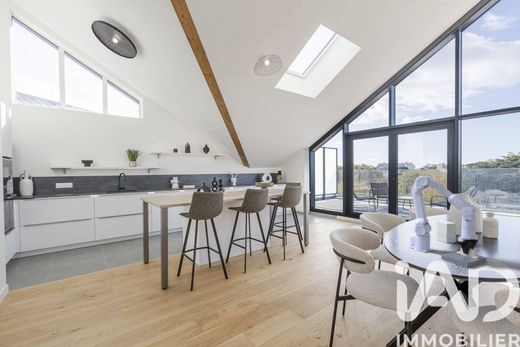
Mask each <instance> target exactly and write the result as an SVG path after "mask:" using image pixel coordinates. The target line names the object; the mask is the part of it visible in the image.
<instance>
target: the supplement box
mask: <svg viewBox="0 0 520 347" xmlns="http://www.w3.org/2000/svg"><path fill="white" fill-rule="evenodd" d="M456 238H457V223H456V222H451V221H447V220H440V221H436V240H437V241H438V242H442V243H445V244H455V242H456V243H457V239H456Z"/></svg>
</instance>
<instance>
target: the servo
mask: <svg viewBox="0 0 520 347" xmlns="http://www.w3.org/2000/svg"><path fill="white" fill-rule="evenodd" d="M460 250H461V251H460ZM460 250H458V251H459V252H456V251H455V252H456V253H459V254H461V255H463V256H467V257H470V258H476V259H477V258H480V257H479V256H480V255H479V256H475V255H476V249H474V250H472V249H469V254H464V253H463V250H462V247H460Z"/></svg>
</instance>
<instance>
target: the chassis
mask: <svg viewBox="0 0 520 347" xmlns="http://www.w3.org/2000/svg"><path fill="white" fill-rule="evenodd" d="M459 251H461V249H460V250H457V251H451V252H448V253H444V254H441V260H442V259H443V260H442V261H446V262H449V263H450V264H451V263H452V264H455V265H458V266H460V267H464V268H467V269H468V268H471V267H475V266H480V265H482V264H485V263H488V262H487V257H485V256H483V255H478V254H475V256H479V257H480V258H477V259H476V258H470V257H467V256H463V255H461V254H459V253H456V252H459Z"/></svg>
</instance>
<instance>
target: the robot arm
mask: <svg viewBox="0 0 520 347" xmlns="http://www.w3.org/2000/svg"><path fill="white" fill-rule="evenodd" d="M427 188H431V189H435V190H437V191H438V192H439V193H440V194H441V195H443V196H444V197H446V198H447V201H448V203H450V204H451V205H452V206H453V207H455V208H456V209H457V210H458V211H460V214H461V228H460V229H461V234H460V235H459V236H458V237H457V242H458V243H459V245H460V248H462V250H463V253H464V254H469V249H472V250H475V247H476V245H477V244H478V242H479V240H478V239H479V235H478V234H476V225H477V224H476V223H477V221H476V220H477V219H476V214H477V211H478V209H477V207H476V206H475V205H473V204H472V203H471V202H469V201H468V202H467V200H465V199H464V198H462V197H463V196H462V195H461V194H456V193H452V192H451V191H450V190H449V189H448V188H446V186H444V185H443V184H442V183H440V181H438V180H437V179H435V178H433V177H432V176H431V175H420V176H418V177H417V178H416V179H414V183H413V185H412V188H411V194H412V196H411V197H412V202H413V207H414V213H415V218H416V219H415V222H414V223H415V224H414V225H415V226H414V232H413V233H411V234H410V246H409V248H410V249H412V250H413V249H414V250H416V251H419V252H423V253H427V252H429V253H430V252H432V251H434V249H432V248H431V234H430V232H431V231H432V226H431V224H430V222H429V219H428V218H427V214H426V208H425V204H424V203H425V202H424V196H423V191H424V190H425V189H427Z"/></svg>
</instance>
